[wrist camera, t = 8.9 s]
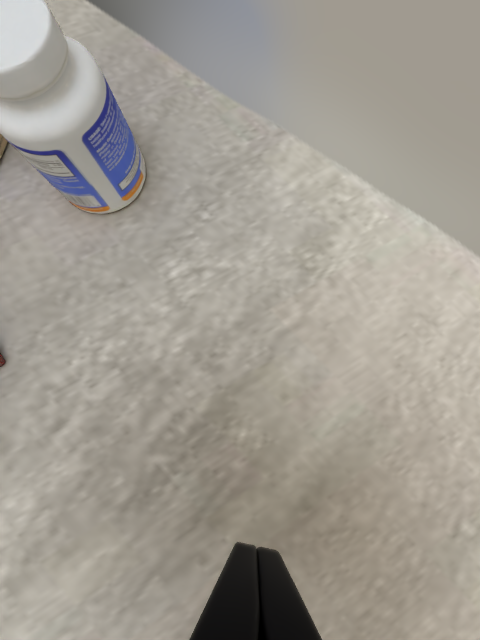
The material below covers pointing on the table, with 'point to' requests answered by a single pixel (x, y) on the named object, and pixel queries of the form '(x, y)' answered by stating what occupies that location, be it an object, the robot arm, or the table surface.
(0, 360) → the lever bracket
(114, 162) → the pill bottle
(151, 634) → the table surface
